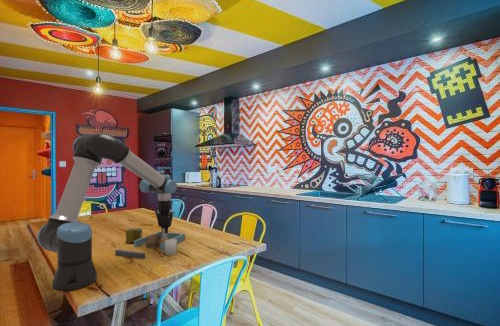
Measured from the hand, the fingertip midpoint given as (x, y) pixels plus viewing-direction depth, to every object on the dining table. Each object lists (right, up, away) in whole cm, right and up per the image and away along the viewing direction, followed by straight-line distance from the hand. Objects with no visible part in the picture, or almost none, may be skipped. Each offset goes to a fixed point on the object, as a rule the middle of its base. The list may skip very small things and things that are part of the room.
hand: (164, 238), depth 165 cm
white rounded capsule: (+10, -2, -22) cm, 24 cm away
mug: (-19, -2, +1) cm, 19 cm away
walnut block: (-3, -2, -9) cm, 10 cm away
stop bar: (-10, -2, -26) cm, 28 cm away
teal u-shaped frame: (-1, -2, -4) cm, 4 cm away
